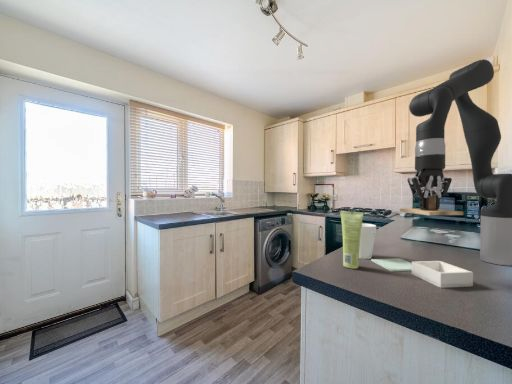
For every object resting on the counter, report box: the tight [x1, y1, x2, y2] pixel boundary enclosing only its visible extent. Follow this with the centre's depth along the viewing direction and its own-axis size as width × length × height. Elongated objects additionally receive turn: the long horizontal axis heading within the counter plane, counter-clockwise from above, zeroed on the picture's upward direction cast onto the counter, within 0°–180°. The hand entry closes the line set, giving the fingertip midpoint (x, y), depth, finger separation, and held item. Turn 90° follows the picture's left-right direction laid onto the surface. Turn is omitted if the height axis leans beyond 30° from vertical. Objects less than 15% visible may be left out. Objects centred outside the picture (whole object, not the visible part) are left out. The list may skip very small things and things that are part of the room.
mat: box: [370, 257, 412, 273], centre depth 79 cm, size 12×11×1 cm
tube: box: [339, 210, 364, 270], centre depth 77 cm, size 6×5×20 cm
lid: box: [399, 195, 464, 216], centre depth 69 cm, size 11×11×5 cm
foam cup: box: [359, 222, 377, 260], centre depth 89 cm, size 10×9×13 cm
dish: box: [411, 260, 474, 289], centre depth 66 cm, size 10×10×4 cm
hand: (429, 209), depth 69 cm, fingers closed on lid, 3 cm apart
